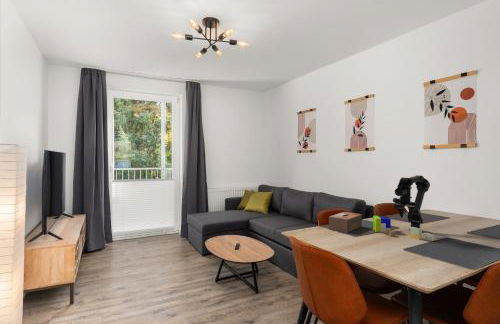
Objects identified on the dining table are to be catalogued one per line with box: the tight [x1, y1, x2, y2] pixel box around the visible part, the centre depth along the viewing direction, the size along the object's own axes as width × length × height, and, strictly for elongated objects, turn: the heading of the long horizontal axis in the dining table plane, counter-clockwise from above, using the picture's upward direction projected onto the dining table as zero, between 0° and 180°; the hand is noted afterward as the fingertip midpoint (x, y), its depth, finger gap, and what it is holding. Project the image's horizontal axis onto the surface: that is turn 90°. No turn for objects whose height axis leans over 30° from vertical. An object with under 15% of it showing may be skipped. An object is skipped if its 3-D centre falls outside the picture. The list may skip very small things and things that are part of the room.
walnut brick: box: [384, 229, 396, 237], centre depth 201 cm, size 6×3×4 cm, turn 11°
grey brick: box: [422, 232, 436, 242], centre depth 192 cm, size 6×3×4 cm, turn 35°
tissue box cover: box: [328, 211, 363, 234], centre depth 221 cm, size 26×14×10 cm, turn 136°
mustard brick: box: [409, 232, 423, 241], centre depth 193 cm, size 6×3×4 cm, turn 34°
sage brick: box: [409, 226, 423, 235], centre depth 193 cm, size 6×3×4 cm, turn 25°
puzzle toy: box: [372, 215, 392, 234], centre depth 213 cm, size 10×10×10 cm
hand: (405, 216), depth 205 cm, fingers open, 9 cm apart
